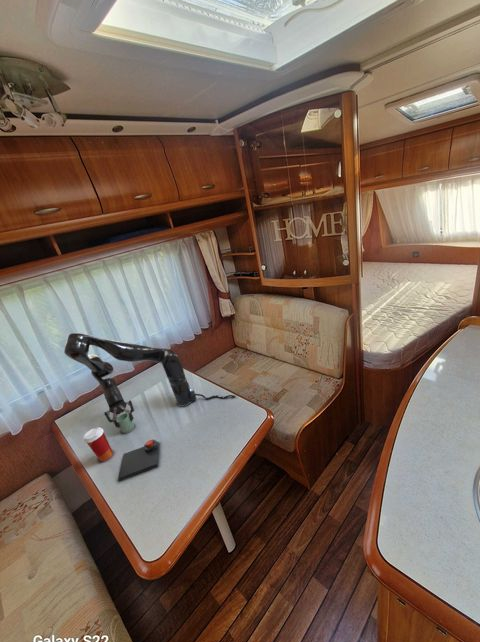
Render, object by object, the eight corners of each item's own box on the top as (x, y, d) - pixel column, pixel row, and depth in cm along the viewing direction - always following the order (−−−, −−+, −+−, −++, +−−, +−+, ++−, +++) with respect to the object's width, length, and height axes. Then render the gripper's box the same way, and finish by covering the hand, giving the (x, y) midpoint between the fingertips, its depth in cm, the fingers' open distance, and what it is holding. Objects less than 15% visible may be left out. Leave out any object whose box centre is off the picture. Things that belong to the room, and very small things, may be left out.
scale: (159, 443, 131) (156, 437, 129) (157, 466, 118) (155, 460, 117) (125, 455, 128) (122, 450, 126) (119, 481, 115) (116, 475, 113)
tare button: (153, 441, 128) (152, 439, 127) (153, 446, 125) (152, 443, 125) (147, 444, 127) (146, 441, 127) (146, 448, 125) (145, 445, 124)
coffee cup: (102, 451, 133) (88, 428, 127) (118, 447, 133) (105, 424, 127) (93, 465, 126) (78, 442, 120) (111, 461, 126) (97, 438, 120)
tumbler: (134, 423, 149) (129, 411, 145) (133, 430, 143) (127, 419, 140) (123, 427, 147) (117, 415, 144) (121, 434, 142) (115, 423, 139)
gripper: (128, 392, 153) (140, 418, 148) (100, 404, 147) (112, 432, 142) (126, 388, 147) (138, 415, 142) (97, 401, 140) (109, 430, 136)
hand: (125, 423), depth 142 cm, fingers closed on tumbler, 6 cm apart
